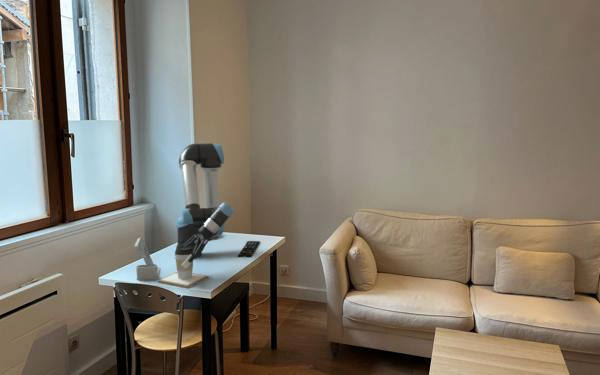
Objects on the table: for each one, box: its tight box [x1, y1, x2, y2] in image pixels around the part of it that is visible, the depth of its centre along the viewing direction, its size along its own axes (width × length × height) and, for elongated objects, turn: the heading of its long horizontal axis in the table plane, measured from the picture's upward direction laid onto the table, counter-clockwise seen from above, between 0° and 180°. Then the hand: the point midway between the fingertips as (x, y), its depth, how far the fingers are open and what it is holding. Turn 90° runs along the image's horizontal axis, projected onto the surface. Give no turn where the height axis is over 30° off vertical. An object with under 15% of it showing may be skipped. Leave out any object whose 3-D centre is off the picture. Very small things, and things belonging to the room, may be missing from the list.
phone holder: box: [134, 237, 161, 281], centre depth 227 cm, size 17×10×18 cm, turn 13°
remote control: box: [237, 240, 261, 258], centre depth 274 cm, size 8×32×2 cm, turn 176°
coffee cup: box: [174, 246, 194, 279], centre depth 220 cm, size 9×9×15 cm
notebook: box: [157, 271, 209, 289], centre depth 220 cm, size 18×16×1 cm
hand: (179, 263), depth 219 cm, fingers open, 13 cm apart
